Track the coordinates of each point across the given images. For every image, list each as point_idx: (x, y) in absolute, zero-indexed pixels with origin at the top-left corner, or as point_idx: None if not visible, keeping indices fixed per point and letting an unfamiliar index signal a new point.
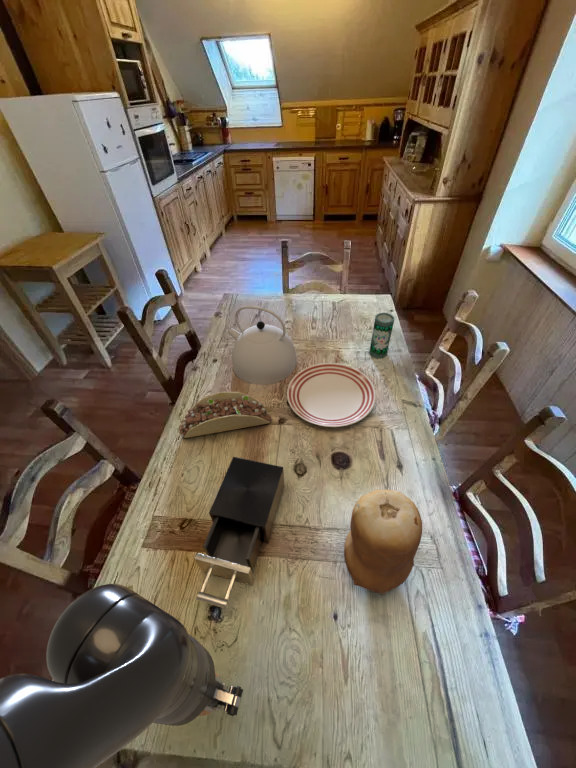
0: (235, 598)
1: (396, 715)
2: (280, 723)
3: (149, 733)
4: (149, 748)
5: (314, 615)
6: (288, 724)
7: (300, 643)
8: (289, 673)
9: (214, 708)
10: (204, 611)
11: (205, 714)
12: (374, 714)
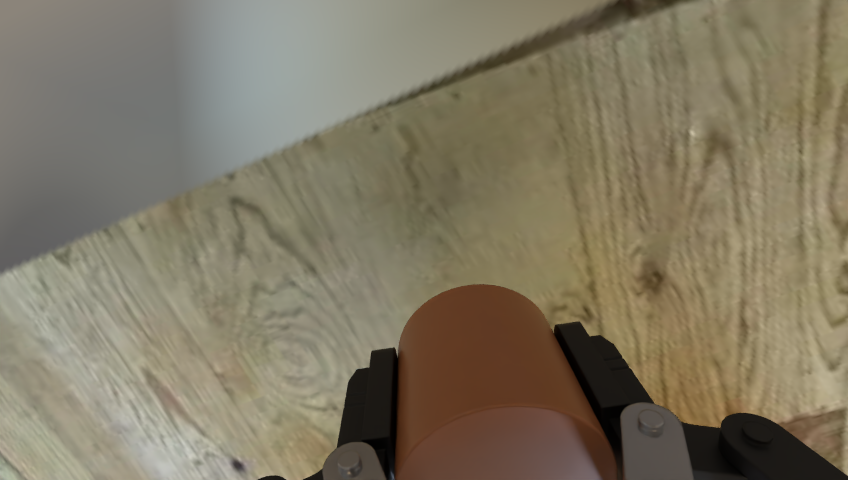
0: None
1: (3, 365)
2: (258, 242)
3: (611, 69)
4: (593, 40)
5: (288, 450)
6: (237, 248)
7: (293, 393)
8: (289, 334)
9: (403, 337)
10: None
11: (428, 319)
12: (50, 347)
